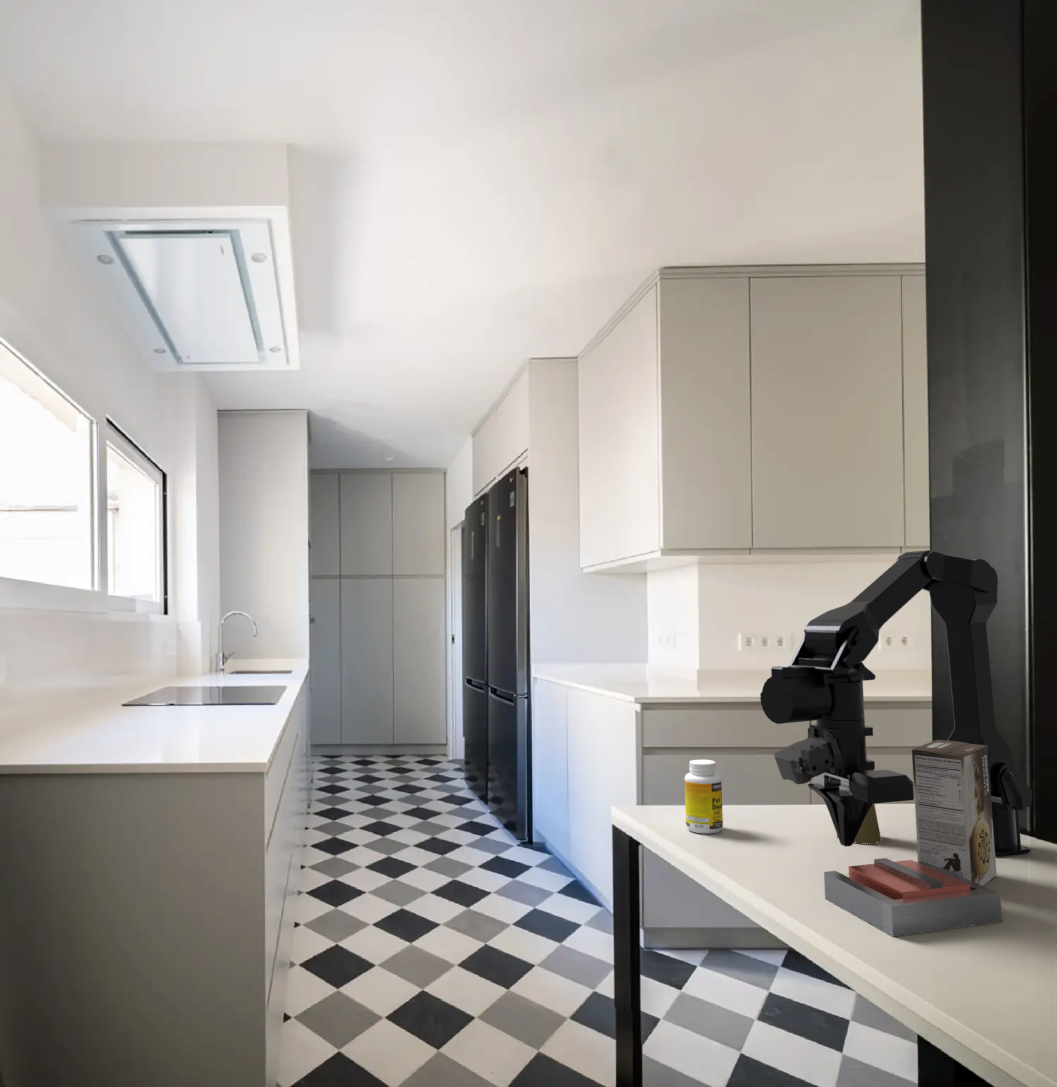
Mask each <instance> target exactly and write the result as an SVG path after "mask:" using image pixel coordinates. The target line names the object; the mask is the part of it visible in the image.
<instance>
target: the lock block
mask: <svg viewBox="0 0 1057 1087" xmlns="http://www.w3.org/2000/svg"><path fill="white" fill-rule="evenodd" d="M917 862H918V861H914V860H913V859H906V860H898V861H897V860H896V861H893V860H891V859H889V858H887V857H884V858H882V857H881V858H875V859H873V863H868V864H860V865H851V866H850V865H849V866H848V877H849V878H851V879H853V880H855V881H857V882H859V883H861V884H863V885H865V886H867V887H869V888H871V889H873V890H875V891H877V892H879V893H881V894H883V895H885V896H887V897H889V898H891V899H893V900H897V899H905V898H913V897H921V896H929V895H938V894H946V893H954V892H962V891H970V884H968V883H965V882H963V881H960V880H958V879H956V878H953V877H951V876H948V875H946V874H944V873H941V872H939V871H936V870H934V869H932V868H929V867H927V866H924V865H922V864H920V863H917Z"/></svg>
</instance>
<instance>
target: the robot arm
mask: <svg viewBox="0 0 1057 1087" xmlns="http://www.w3.org/2000/svg"><path fill="white" fill-rule="evenodd" d="M998 583H999V578H998V573H997V570H996V569H995V567H992V566H991V565H990V564H989V562H988V561H986V560H985V559H982V558H974V559H972V558H971V559H969V558H963V557H958V556H952V555H946V554H944V553H941V552H938V551H934V550H932V549H929V550H928V549H927V550H915V551H906V552H905V551H904V552H903V553H902V554H900V555H898V557H897V559H896V561H895V562H894V563H893V564H892V565H891V566H890V567H889V568H888V569H886V570H885V571H884V572H883V573H882V574H880V575H879V576H878V577H877V578H876V579H875V580H874V581H872V582H871V584H869V585H868V586H867V587H866V588H865V589H864V590H863V591H862V592H860V593H859V594H858V595H856V596H855V597H854V598H853V599H852V600H851V601H850V602H848V603H846V604H844V605H841V606H839V607H835V608H833V609H830V610H828V611H825V612H823V613H822V614H820V615H818V616H816V617H814V618H813V619H811V620H810V621H809V622H808V623H807V624H806V625H805V626H804V627H805V628H804V630H803V632H804V635H803V637H802V638H801V640H800V642H799V644H798V646H797V648H796V650H795V652H794V653H793V655H792V658H791V660H790V662H789V664H788V666H772V667H771V668H770V671H771V672H770V673H771V675H770V677H769V678H767V679H766V681H765V682H764V684H763V687H762V690H761V692H760V695H759V696H760V704H761V705H760V706H761V708H762V711H763V712H764V714H765V716H766V718H768V720H769V721H771V722H772V723H774V724H778V725H781V724H783V725H784V724H791V723H803V722H813V721H815V722H816V723H815V724H809V727H808V728H807V738H805V739H803V740H799V741H796V742H794V743H792V744H790V745H788V746H785V747H784V748H782V749H780V750H778V751H776V752H775V753H773V757H774V760H775V761H776V765H777V768H778V771H779V774H780V776H781V778H782V780H785V781H786V780H788V781H791V782H793V783H794V784H796V785H805V784H807V787H808V788H809V789H810V790H812V791H814V792H815V793H816V794H817V795H818V796H820V797H821V798H822V800H823V802H824V803H825V806H826V808H827V811H828V813H829V816H830V818H831V821H832V824H833V827H834V830H835V832H836V836H837V835H838V838H839V839H838V838H837V839H838V841H839V843H840V845H841V846H843V847H851V846H853V845H854V843H853V842H854V840H855V838H856V836H857V834H858V831H859V829H860V827H861V825H862V823H863V821H864V819H865V817H866V815H867V813H868V811H869V809H870V807H871V806H872V804H873V803H874V804H886V803H897V802H907V801H915V797H914V781H912V779H910V777H909V776H908V775H907V774H903V773H900V772H897V771H893V770H889V769H879V770H877V769H876V765H875V764H876V763H875V761H874V760H871V759H868V758H867V754H868V753H867V738H866V737H872V736H874V728H873V727H872V726H867V725H866V719H865V718H866V716H865V700H864V699H865V698H864V683H863V682H865V681H874V680H875V679H876V674H874V672H873V671H871V670H870V669H868V668H867V667H866V665H865V664H864V663H863V662H864V661H865V660H866V659H867V657H868V656H869V655H870V653H871V652H872V651H873V650H874V648H875V647H876V645H877V644H878V643H879V640H880V630H881V629H882V627H883V626H884V625H885V624H886V623H887V622H888V621H889V620H890V619H891V618H892V617H894V616H895V615H896V614H897V613H898V612H899V611H901V609H902V608H903V607H904V606H905V605H906V604H908V603H909V602H910V601H911V600H912V599H913V598H914V597H915V596H916V595H918V594H919V593H920V592H921V591H923V590H924V591H926V592H928V593H929V597H930V602H931V606H932V607H933V609H934V611H935V612H936V613H937V614H938V616H939V617H940V618H941V620H942V621H943V623H944V624H945V629H946V643H947V654H948V655H947V656H948V666H949V677H950V688H951V700H952V711H953V721H954V722H953V724H954V728H953V729H952V731H951V733H950V735H949V737H948V739H947V741H958V742H964V743H970V744H977V745H987V746H988V747H987V749H988V762H989V775H990V789H991V803H992V819H993V832H994V847H995V857H996V856H997V857H999V856H1006V855H1015V854H1022V853H1023V854H1024V853H1031V852H1032V849H1031V847H1028V846H1026V845H1022V841H1021V827H1020V813H1019V812H1020V811H1025V810H1027V808H1030V807H1031V806H1032V800H1033V799H1032V798H1033V790H1032V789H1031V788H1030V786H1029V785H1028V784H1027V782H1025V780H1024V779H1023V778H1022V776H1021V775H1020V773H1019V772H1018V771H1017V770H1016V769H1015V764H1014V759H1013V754H1012V750H1011V747H1010V746H1009V744H1007V742H1006V741H1005V739H1004V738H1003V737H1002V735H1001V733H1000V732H999V731H998V729H997V727H996V719H995V718H996V717H995V708H994V696H993V687H992V674H991V665H990V662H991V661H990V654H989V644H988V642H989V641H988V631H987V623H988V620H989V618H990V617H991V615H992V613H993V611H994V609H995V607H996V606H997V603H998V585H999V584H998ZM875 769H876V770H875ZM866 770H874V771H866ZM848 775H849V776H850V777H848ZM811 779H812V783H809V782H810V781H811Z"/></svg>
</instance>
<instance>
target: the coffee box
mask: <svg viewBox="0 0 1057 1087" xmlns="http://www.w3.org/2000/svg"><path fill="white" fill-rule="evenodd" d="M947 740H948V739H947ZM947 740H946V739H945V740H944V739H936V740H935V739H934V740H933V741H930V742H927V743H925V744H923V745H920V746H917V747H914V748H913V749H911V758H912V760H911V761H912V775H913V787H914V809H915V810H914V811H915V812H914V813H915V827H916V828H915V830H916V833H915V834H916V850H917V862H918V861H924V862H926V863H929V864H931V865H934V866H936V867H939V868H941V869H943V870H946V871H948V872H951V873H953V874H956V875H958V876H960V877H963V878H965V879H968V880H970V881H973V882H975V883H978V884H980V885H982V886H985V885H986V884H987V883H989V882H991V880H992V879H994V878H995V876H997V865H996V864H997V860H996V856H995V847H994V832H993V819H992V803H991V789H990V775H989V762H988V749H987V747H988V746H987V745H977V744H970V743H964V742H958V741H947Z"/></svg>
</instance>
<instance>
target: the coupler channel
mask: <svg viewBox="0 0 1057 1087" xmlns="http://www.w3.org/2000/svg"><path fill="white" fill-rule="evenodd" d="M916 862H917V863H920V864H922V865H924V866H927V867H929V868H932V869H934V870H936V871H939V872H941V873H944V874H946V875H948V876H951V877H953V878H956V879H958V880H960V881H963V882H965V883H968V884H970V891H962V892H954V893H946V894H938V895H929V896H921V897H913V898H905V899H897V900H893V899H891V898H889V897H887V896H885V895H883V894H881V893H879V892H877V891H875V890H873V889H871V888H869V887H867V886H865V885H863V884H861V883H859V882H857V881H855V880H853V879H851V878H849V876H847V875H845V874H842V873H841V872H839V871H837V870H830V871H829V870H827V871H823V878H824V879H823V880H824V899H825V900H827V901H829V902H830V903H832V904H834V905H835V906H838V907H839V906H840V908H842V910H845V911H846V912H848V913H850V914H852V915H854V916H855V917H857V918H859V919H861V920H863V921H864V922H866V923H868V924H870V925H871V926H873V927H875V928H877V929H879V930H880V931H882V932H884V933H885V934H887V935H888V936H891V937H893V938H894V937H902V936H909V935H915V934H923V933H924V934H925V933H930V932H938V931H945V930H946V929H947V930H951V929H950V928H954V929H960V928H966V927H965V926H968V927H971V926H970V925H976V926H980V925H981V924H983V925H987V924H986V923H990V924H995V923H994V922H998V923H1002V922H1003V917H1002V902H1001V892H1000V891H997V890H995V889H994V890H993V889H992V888H990V887H987V886H985V885H984V886H982V885H980V884H978V883H975V882H973V881H970V880H968V879H965V878H963V877H960V876H958V875H956V874H953V873H951V872H948V871H946V870H943V869H941V868H939V867H936V866H934V865H931V864H929V863H926V862H924V861H918V860H917V861H916ZM1001 921H1002V922H1001ZM963 926H964V927H963ZM981 926H982V925H981ZM959 927H960V928H959Z"/></svg>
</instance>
